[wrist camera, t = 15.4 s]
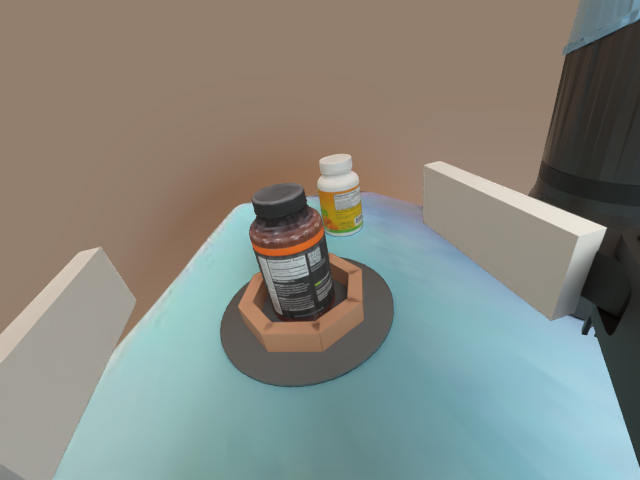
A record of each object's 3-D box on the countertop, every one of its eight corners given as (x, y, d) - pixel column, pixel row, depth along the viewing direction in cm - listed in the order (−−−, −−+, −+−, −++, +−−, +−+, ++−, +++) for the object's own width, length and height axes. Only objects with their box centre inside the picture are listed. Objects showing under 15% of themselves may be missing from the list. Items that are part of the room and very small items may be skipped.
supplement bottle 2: (321, 223, 42) (310, 157, 38) (356, 216, 43) (350, 149, 38) (328, 241, 38) (317, 168, 33) (368, 232, 38) (362, 159, 33)
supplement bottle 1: (286, 282, 31) (259, 179, 25) (341, 285, 29) (325, 174, 23) (263, 325, 26) (222, 209, 20) (328, 331, 24) (303, 206, 18)
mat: (320, 245, 37) (319, 241, 37) (431, 303, 26) (432, 299, 25) (198, 311, 30) (196, 307, 29) (278, 437, 18) (276, 433, 18)
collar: (316, 258, 34) (313, 243, 33) (388, 300, 26) (388, 283, 25) (230, 306, 29) (224, 290, 28) (289, 377, 21) (283, 359, 20)
